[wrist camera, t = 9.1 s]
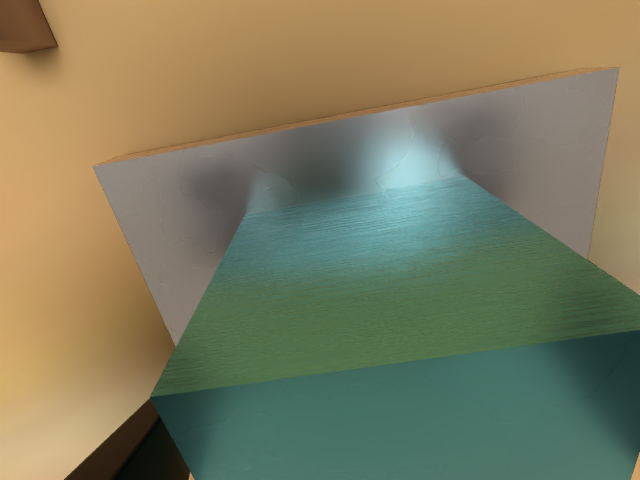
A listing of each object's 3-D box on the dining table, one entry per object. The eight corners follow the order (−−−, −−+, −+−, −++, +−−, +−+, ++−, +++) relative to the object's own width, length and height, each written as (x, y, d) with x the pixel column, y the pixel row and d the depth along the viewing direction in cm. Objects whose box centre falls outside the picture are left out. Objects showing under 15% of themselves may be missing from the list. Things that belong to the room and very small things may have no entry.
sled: (584, 68, 9) (1235, 49, 3) (546, 354, 13) (764, 619, 7) (116, 156, 10) (-251, 304, 4) (219, 398, 14) (137, 670, 8)
